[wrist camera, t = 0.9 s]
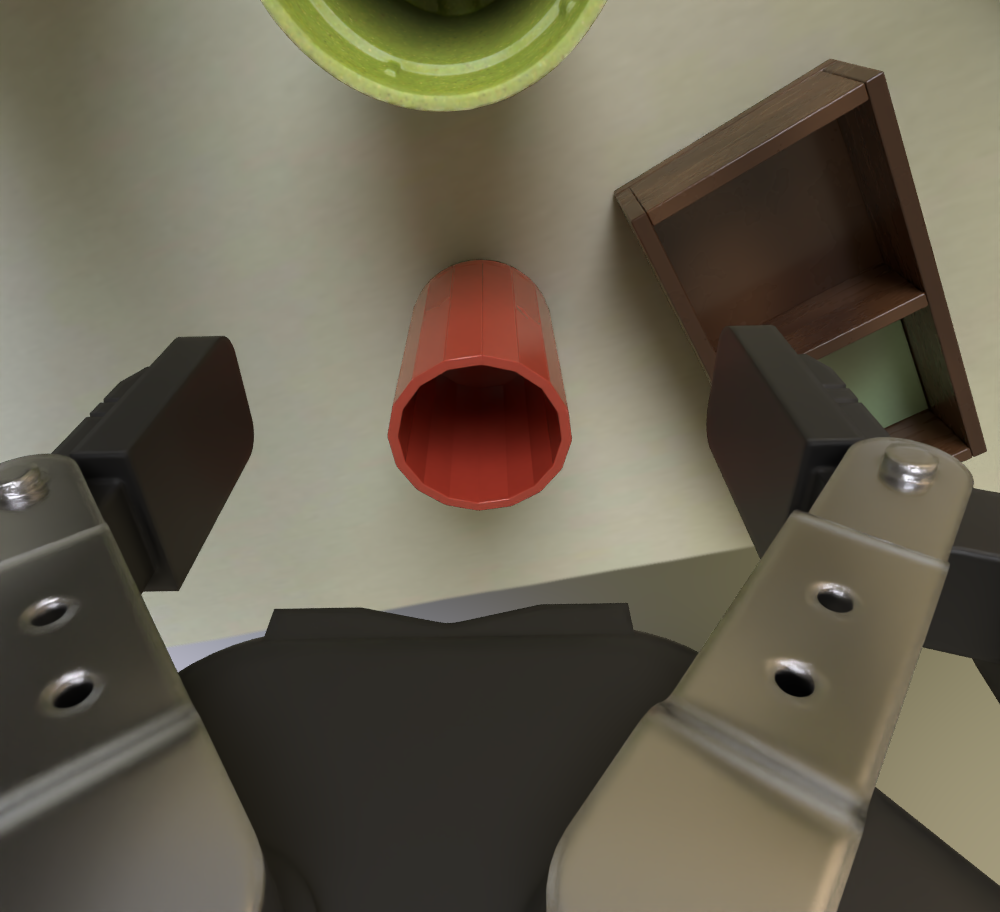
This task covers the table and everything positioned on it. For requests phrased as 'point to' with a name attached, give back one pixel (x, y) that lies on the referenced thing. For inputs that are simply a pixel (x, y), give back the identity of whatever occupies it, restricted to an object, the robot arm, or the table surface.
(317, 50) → the plant pot
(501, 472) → the cup
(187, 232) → the table surface
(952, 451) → the caddy
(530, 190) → the table surface
